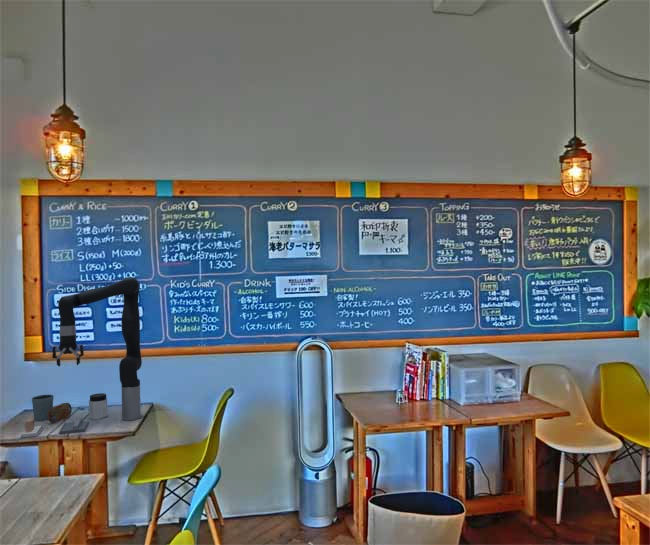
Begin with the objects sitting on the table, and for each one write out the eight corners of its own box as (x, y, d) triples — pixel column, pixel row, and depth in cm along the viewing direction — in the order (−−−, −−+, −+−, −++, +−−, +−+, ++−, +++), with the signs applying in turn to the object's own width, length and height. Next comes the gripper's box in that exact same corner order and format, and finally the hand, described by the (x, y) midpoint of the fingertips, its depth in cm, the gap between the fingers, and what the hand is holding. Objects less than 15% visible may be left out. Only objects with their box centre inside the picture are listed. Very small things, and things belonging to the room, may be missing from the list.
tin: (51, 424, 251) (51, 408, 251) (46, 424, 252) (46, 408, 252) (72, 416, 266) (72, 400, 266) (67, 416, 266) (67, 400, 266)
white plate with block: (43, 428, 244) (43, 415, 244) (37, 435, 232) (37, 422, 232) (27, 430, 241) (27, 417, 241) (20, 437, 230) (20, 424, 230)
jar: (99, 419, 258) (99, 397, 258) (86, 419, 259) (85, 396, 259) (110, 415, 266) (110, 393, 267) (97, 414, 268) (96, 392, 268)
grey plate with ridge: (88, 423, 252) (88, 416, 252) (84, 432, 238) (84, 424, 238) (64, 425, 248) (64, 419, 248) (59, 434, 234) (59, 427, 234)
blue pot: (55, 415, 268) (55, 393, 268) (51, 420, 258) (51, 398, 258) (34, 417, 265) (34, 395, 265) (29, 422, 255) (29, 399, 255)
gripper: (84, 332, 258) (84, 363, 258) (53, 334, 253) (54, 365, 253) (82, 334, 251) (82, 365, 251) (50, 335, 246) (51, 367, 246)
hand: (68, 365), depth 252 cm, fingers open, 8 cm apart
